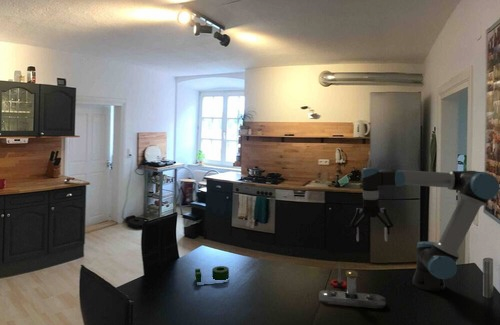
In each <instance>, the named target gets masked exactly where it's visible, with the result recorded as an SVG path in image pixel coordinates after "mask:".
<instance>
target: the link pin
mask: <svg viewBox="0 0 500 325" xmlns="http://www.w3.org/2000/svg"><path fill="white" fill-rule="evenodd" d="M345 275H346V277H347V278H346V279H347V280H346V282H347V285H346V292H347V298H352V299H356V293H357V277H358V275H359V273H358V271H356V270H346V271H345Z"/></svg>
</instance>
